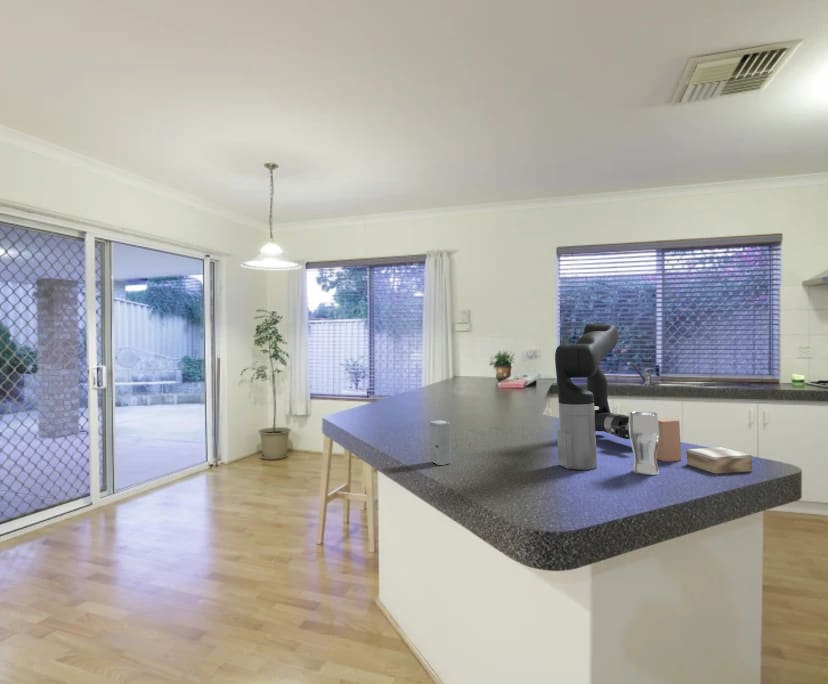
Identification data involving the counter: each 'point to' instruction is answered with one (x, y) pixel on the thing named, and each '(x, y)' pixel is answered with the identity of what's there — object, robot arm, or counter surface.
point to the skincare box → (440, 441)
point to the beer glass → (644, 442)
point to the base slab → (719, 460)
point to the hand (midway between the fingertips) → (650, 433)
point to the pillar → (669, 440)
